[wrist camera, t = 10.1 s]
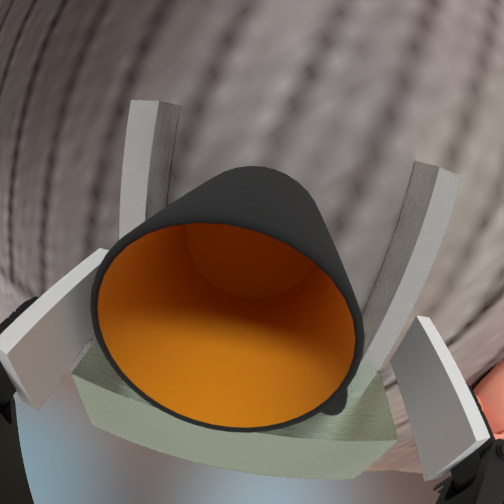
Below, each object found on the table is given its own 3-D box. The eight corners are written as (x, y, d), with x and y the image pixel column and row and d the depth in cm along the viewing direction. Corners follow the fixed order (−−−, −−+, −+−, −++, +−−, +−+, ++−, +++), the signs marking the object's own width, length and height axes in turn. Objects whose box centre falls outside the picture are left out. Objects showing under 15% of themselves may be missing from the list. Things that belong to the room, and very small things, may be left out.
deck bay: (122, 103, 15) (43, 97, 8) (463, 181, 14) (535, 211, 8) (123, 371, 24) (92, 425, 17) (346, 418, 23) (353, 478, 17)
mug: (284, 348, 20) (277, 476, 11) (161, 229, 18) (57, 324, 8) (380, 284, 17) (440, 408, 8) (257, 135, 15) (212, 131, 5)
